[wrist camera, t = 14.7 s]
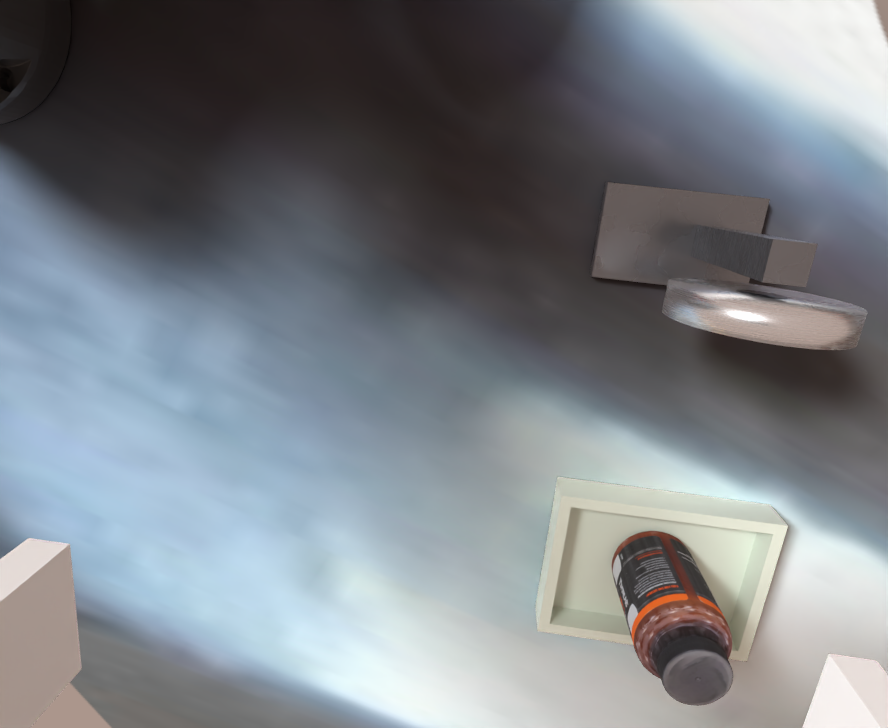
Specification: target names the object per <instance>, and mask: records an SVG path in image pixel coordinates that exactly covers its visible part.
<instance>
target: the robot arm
mask: <svg viewBox="0 0 888 728" xmlns="http://www.w3.org/2000/svg"><path fill="white" fill-rule="evenodd" d="M70 36H71V9H70V0H0V124H4V123H8V122H11V121H14V120H16V119H19V118H20V117H22V116H24V115H26V114H28V113H29V112H31V111H32V110H33V109H35V108H36V107H37V106H38V105H39V104H40V103H41V102H42V101H43V100H44V99H45V98H46V97H47V96H48V95H49V93H50V92H51V91H52V89H53V88H54V86H55V84H56V83H57V81H58V79H59V77H60V75H61V73H62V70H63V68H64V65H65V62H66V58H67V54H68V50H69V44H70ZM81 669H82V668H81V657H80V647H79V636H78V625H77V615H76V604H75V593H74V583H73V572H72V562H71V551H70V544H66V543H59V542H52V541H46V540H39V539H32V538H28V539H27V540H26V541H24V542H23V543H22V544H20V545H19V546H17V547H16V548H15V549H13V550H12V551H11V552H9V553H8V554H7V555H5V556H4V557H3V558H1V559H0V728H30V727H32V725H33V724H34V723H35V722H36V721H37V719H38V718H39V717H40V716H41V715H42V714H43V713H44V712H45V710H46V709H47V708H48V707H49V706H50V705H51V703H52V702H53V701H54V700H55V699H56V698H57V697H58V695H59V694H60V693H61V692H62V691H63V689H65V687H66V686H67V685H68V684H69V683H70V682H71V680H72V679H73V678H74V677H75V676H76V675H77V674H78V672H79V671H80V670H81ZM802 728H888V674H887V673H886V672H885V671H884V669H883V668H882V667H881V665H880V664H879V663H878V662H877V660H871V659H864V658H857V657H850V656H843V655H836V654H828V657H827V660H826V662H825V665H824V668H823V671H822V674H821V677H820V679H819V682H818V685H817V688H816V691H815V694H814V696H813V699H812V702H811V705H810V708H809V710H808V713H807V716H806V719H805V722H804V725H803V727H802Z"/></svg>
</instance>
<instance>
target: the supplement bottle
mask: <svg viewBox="0 0 888 728" xmlns="http://www.w3.org/2000/svg"><path fill="white" fill-rule="evenodd" d="M612 573H613V578H614V582H615V586H616V588H617V592H618V596H619V598H620V602H621V605H622V608H623V611H624V615H625V618H626V621H627V625H628V628H629V631H630V635H631V638H632V641H633V644H634V648H635V651H636V653H637V656H638V658H639V659H640V661H641V663H642V664H643V666H644V667H645V668H646V669H647V670H648V671H649V672H651V673H652V674H653V675H655V676H657V677H658V678H660V679H661V680H662V683H663V685H664V687H665V690H666V691H667V692H668V694H669V695H670V696H671V697H673V698H674V699H675V700H677V701H679V702H681V703H684V704H688V705H705V704H709V703H712V702H714V701H716V700H718V699H720V698H721V697H723V696H724V695H725V694H726V693H727V692H728V690H729V689H730V687H731V684H732V681H733V672H732V668H731V666H730V663H729V661H728V659H729V657H730V654H731V651H732V635H731V631H730V628H729V626H728V623H727V621H726V619H725V617H724V616H723V614H722V611H721V610H720V608H719V606H718V604H717V602H716V600H715V598H714V596H713V595H712V592H711V591H710V589H709V587H708V585H707V583H706V581H705V579H704V578H703V576H702V574H701V572H700V570H699V568H698V566H697V564H696V562H695V561H694V559H693V557H692V555H691V553H690V552H689V551H688V549H687V547H686V546H685V545H684V544H683V543H682V542H681V541H680V540H679V539H678V538H676V537H674V536H673V535H670V534H668V533H664V532H660V531H645V532H640V533H637V534H635V535H632V536H630V537H628V538H627V539H626V540H625V541H623V542H622V543H621V544H620V545H619V547H618V548H617V550H616V551H615V553H614V556H613V559H612Z"/></svg>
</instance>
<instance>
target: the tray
mask: <svg viewBox="0 0 888 728" xmlns="http://www.w3.org/2000/svg"><path fill="white" fill-rule="evenodd" d="M787 528H788V525H787V524H786V523H785V521H784V520H783V519H782V518H781V517H780V516H779V514H778V513H777V512H776V511H775V510H774V509H773V507H772V506H771V505H770V504H762V503H754V502H747V501H739V500H732V499H724V498H716V497H709V496H701V495H694V494H686V493H678V492H671V491H663V490H656V489H648V488H640V487H633V486H625V485H618V484H610V483H602V482H595V481H587V480H579V479H572V478H564V477H557V483H556V489H555V495H554V500H553V506H552V512H551V518H550V524H549V529H548V535H547V541H546V547H545V552H544V558H543V564H542V570H541V576H540V581H539V587H538V593H537V599H536V604H535V608H536V620H537V631H540V632H546V633H553V634H560V635H567V636H574V637H581V638H587V639H594V640H601V641H608V642H615V643H622V644H629V645H634V644H633V641H632V638H631V635H630V631H629V628H628V625H627V621H626V618H625V615H624V611H623V608H622V605H621V602H620V598H619V596H618V592H617V588H616V586H615V582H614V578H613V573H612V559H613V556H614V553H615V551H616V550H617V548H618V547H619V545H620V544H621V543H622V542H623V541H625V540H626V539H627V538H628V537H630V536H632V535H635V534H637V533H640V532H645V531H660V532H664V533H668V534H670V535H673V536H674V537H676V538H678V539H679V540H680V541H681V542H682V543H683V544H684V545H685V546H686V547H687V549H688V551H689V552H690V553H691V555H692V557H693V559H694V561H695V562H696V564H697V566H698V568H699V570H700V572H701V574H702V576H703V578H704V579H705V581H706V583H707V585H708V587H709V589H710V591H711V592H712V595H713V596H714V598H715V600H716V602H717V604H718V606H719V608H720V610H721V611H722V614H723V616H724V617H725V619H726V621H727V623H728V626H729V628H730V631H731V635H732V651H731V654H730V657H729V659H731V660H738V661H745V662H747V659H748V656H749V653H750V649H751V646H752V643H753V640H754V636H755V633H756V630H757V626H758V623H759V620H760V617H761V613H762V610H763V607H764V604H765V600H766V597H767V594H768V591H769V587H770V584H771V581H772V577H773V574H774V571H775V568H776V564H777V561H778V558H779V555H780V551H781V548H782V545H783V541H784V538H785V535H786V532H787Z"/></svg>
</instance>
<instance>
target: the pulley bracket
mask: <svg viewBox="0 0 888 728" xmlns="http://www.w3.org/2000/svg"><path fill="white" fill-rule="evenodd" d="M769 200H770V199H764V198H755V197H745V196H735V195H726V194H716V193H706V192H697V191H687V190H678V189H668V188H658V187H649V186H639V185H629V184H620V183H610V182H605V188H604V193H603V199H602V205H601V211H600V217H599V223H598V228H597V234H596V240H595V246H594V252H593V257H592V263H591V269H590V276H591V277H598V278H607V279H616V280H625V281H634V282H643V283H652V284H661V285H667V289H666V294H665V299H664V303H663V308H662V312H663V313H664V314H665V315H666V316H668V317H669V318H671V319H673V320H676V321H678V322H681V323H683V324H686V325H689V326H692V327H696V328H699V329H702V330H706V331H710V332H714V333H718V334H722V335H726V336H731V337H735V338H740V339H745V340H750V341H756V342H761V343H767V344H774V345H780V346H788V347H796V348H805V349H817V350H847V349H852V348H855V347H856V346H857V344H858V341H859V338H860V334H861V331H862V328H863V325H864V322H865V318H866V315H867V310H865V309H863V308H861V307H859V306H856V305H853V304H850V303H847V302H843V301H839V300H836V299H831V298H827V297H823V296H818V295H814V294H809V293H804V292H799V291H793V290H788V289H782V288H776V287H770V286H763V285H757V284H750V283H749V280H750V278H752V279H754V280H757V281H760V282H764V283H773V284H782V285H791V286H800V287H806V284H807V281H808V277H809V274H810V270H811V266H812V263H813V259H814V256H815V252H816V248H817V245H818V244H815V243H810V242H804V241H798V240H793V239H787V238H781V237H776V236H770V235H764V234H761V232H762V228H763V224H764V220H765V216H766V212H767V208H768V204H769Z"/></svg>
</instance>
